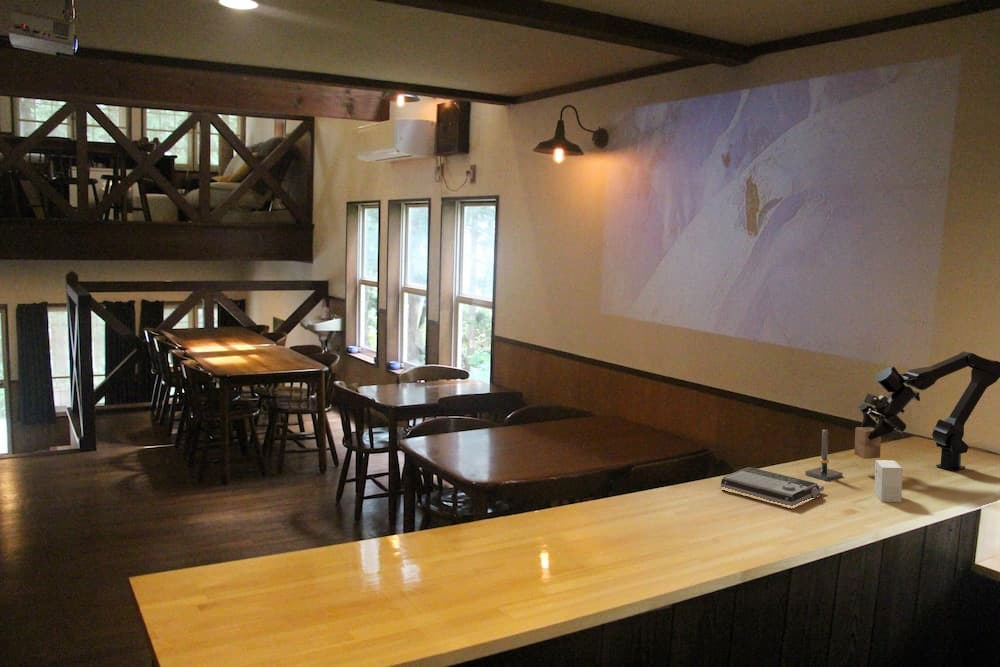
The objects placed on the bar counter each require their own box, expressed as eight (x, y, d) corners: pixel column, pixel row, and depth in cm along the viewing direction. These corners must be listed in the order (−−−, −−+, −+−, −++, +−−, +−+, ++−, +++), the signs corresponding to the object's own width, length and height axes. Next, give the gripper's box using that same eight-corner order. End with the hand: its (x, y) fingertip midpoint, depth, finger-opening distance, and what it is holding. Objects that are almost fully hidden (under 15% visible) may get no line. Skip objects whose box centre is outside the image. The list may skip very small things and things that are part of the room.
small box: (901, 502, 230) (903, 468, 228) (881, 502, 231) (882, 467, 230) (893, 493, 238) (895, 460, 236) (873, 493, 239) (875, 459, 237)
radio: (720, 475, 244) (756, 461, 257) (720, 491, 244) (755, 477, 257) (793, 494, 225) (827, 478, 238) (793, 511, 226) (827, 495, 239)
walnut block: (870, 453, 260) (871, 426, 258) (880, 457, 254) (881, 430, 253) (854, 454, 259) (855, 427, 258) (864, 458, 254) (865, 431, 252)
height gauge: (821, 470, 262) (822, 425, 260) (842, 476, 255) (843, 430, 253) (805, 474, 257) (806, 429, 255) (826, 481, 251) (828, 434, 249)
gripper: (864, 379, 263) (832, 413, 263) (898, 391, 245) (864, 427, 245) (885, 401, 265) (853, 435, 265) (921, 414, 247) (887, 450, 247)
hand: (863, 436), depth 256 cm, fingers closed on walnut block, 5 cm apart
